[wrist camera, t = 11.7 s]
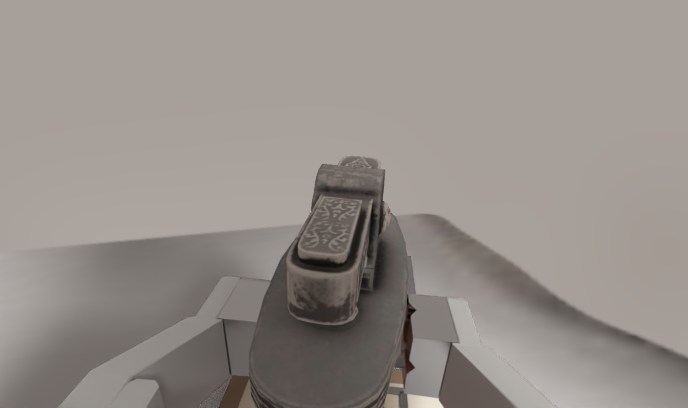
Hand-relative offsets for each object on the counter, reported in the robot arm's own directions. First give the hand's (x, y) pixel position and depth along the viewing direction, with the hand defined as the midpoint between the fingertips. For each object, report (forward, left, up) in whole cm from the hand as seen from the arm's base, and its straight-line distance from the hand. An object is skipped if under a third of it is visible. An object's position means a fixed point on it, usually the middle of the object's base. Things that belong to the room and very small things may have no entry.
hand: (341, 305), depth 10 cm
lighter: (0, 0, -6) cm, 7 cm away
